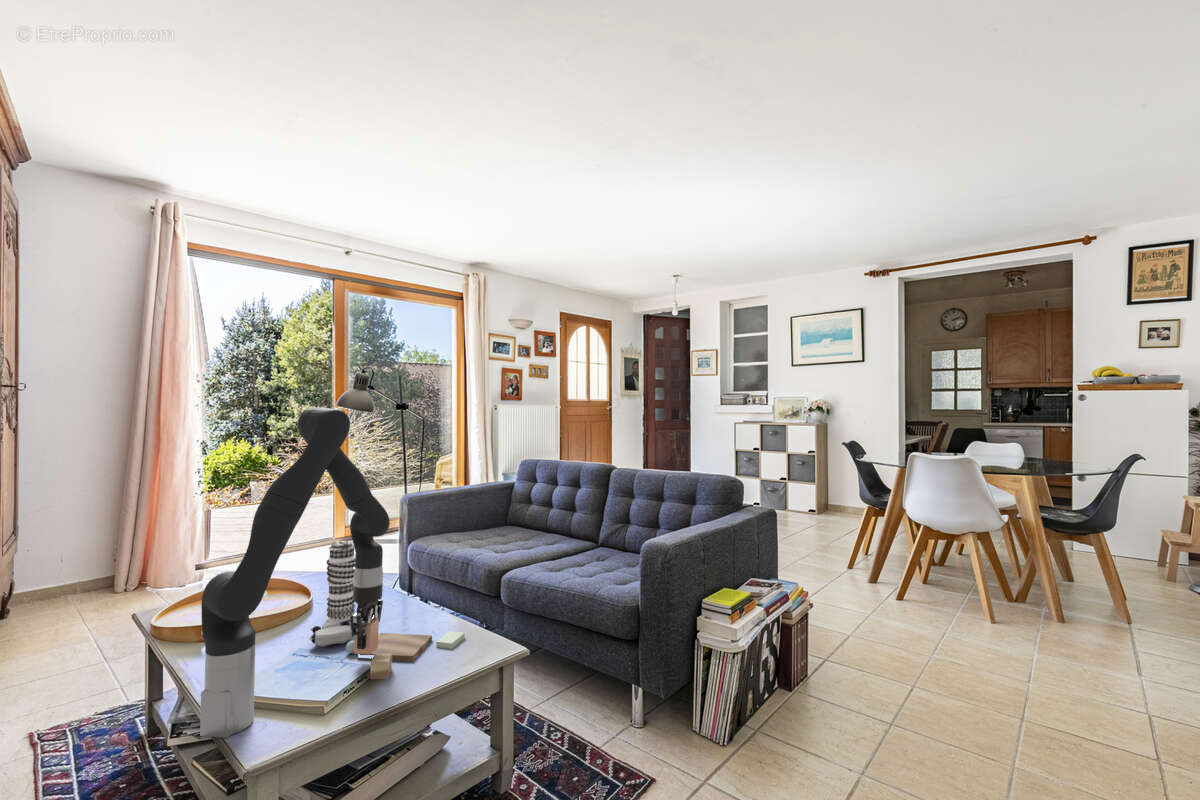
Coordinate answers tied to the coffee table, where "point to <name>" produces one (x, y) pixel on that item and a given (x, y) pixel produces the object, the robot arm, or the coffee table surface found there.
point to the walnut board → (401, 645)
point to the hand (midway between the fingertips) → (366, 644)
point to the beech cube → (381, 666)
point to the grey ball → (350, 647)
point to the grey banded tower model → (340, 581)
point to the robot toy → (331, 633)
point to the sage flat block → (450, 640)
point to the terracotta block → (369, 638)
